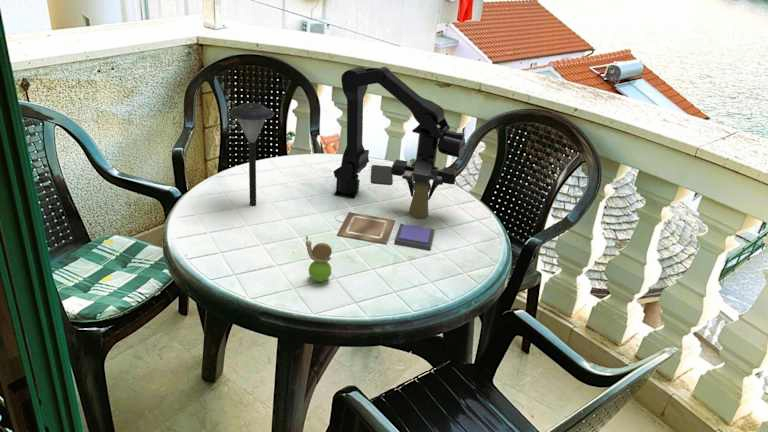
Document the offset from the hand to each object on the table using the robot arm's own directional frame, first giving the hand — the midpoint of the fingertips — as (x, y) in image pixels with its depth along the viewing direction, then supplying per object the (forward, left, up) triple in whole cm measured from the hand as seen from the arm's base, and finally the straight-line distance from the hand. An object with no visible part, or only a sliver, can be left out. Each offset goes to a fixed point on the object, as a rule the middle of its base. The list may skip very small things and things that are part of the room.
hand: (420, 197), depth 172 cm
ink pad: (+1, -15, -6) cm, 16 cm away
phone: (-16, +24, -6) cm, 29 cm away
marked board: (-13, -14, -6) cm, 20 cm away
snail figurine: (-19, -43, -6) cm, 47 cm away
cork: (0, 0, -6) cm, 6 cm away
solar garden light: (-48, -12, -6) cm, 50 cm away
